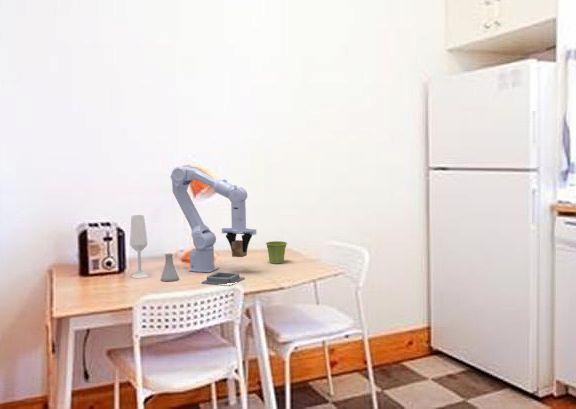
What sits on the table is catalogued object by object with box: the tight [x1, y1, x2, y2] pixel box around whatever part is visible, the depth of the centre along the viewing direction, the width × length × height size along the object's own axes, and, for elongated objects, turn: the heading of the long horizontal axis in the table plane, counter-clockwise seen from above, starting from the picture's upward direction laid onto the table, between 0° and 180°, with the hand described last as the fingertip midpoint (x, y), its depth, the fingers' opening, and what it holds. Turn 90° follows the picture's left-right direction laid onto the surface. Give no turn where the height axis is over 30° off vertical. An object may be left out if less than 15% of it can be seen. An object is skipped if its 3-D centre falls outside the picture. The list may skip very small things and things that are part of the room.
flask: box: [160, 252, 180, 282], centre depth 218 cm, size 7×7×10 cm
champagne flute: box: [129, 214, 149, 279], centre depth 224 cm, size 7×7×24 cm
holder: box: [201, 271, 245, 286], centre depth 214 cm, size 12×12×2 cm
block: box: [231, 239, 248, 258], centre depth 229 cm, size 4×4×6 cm
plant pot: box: [265, 240, 288, 265], centre depth 248 cm, size 9×9×9 cm
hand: (239, 251), depth 229 cm, fingers closed on block, 4 cm apart
